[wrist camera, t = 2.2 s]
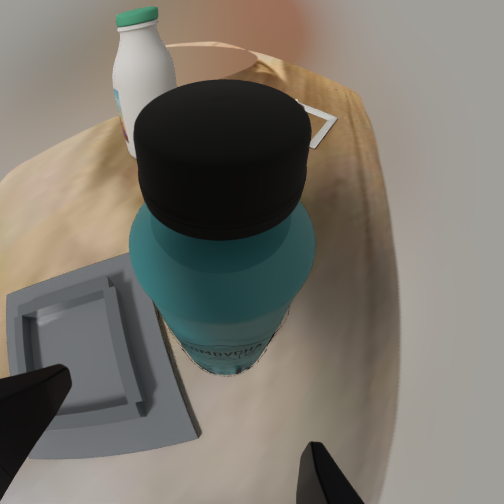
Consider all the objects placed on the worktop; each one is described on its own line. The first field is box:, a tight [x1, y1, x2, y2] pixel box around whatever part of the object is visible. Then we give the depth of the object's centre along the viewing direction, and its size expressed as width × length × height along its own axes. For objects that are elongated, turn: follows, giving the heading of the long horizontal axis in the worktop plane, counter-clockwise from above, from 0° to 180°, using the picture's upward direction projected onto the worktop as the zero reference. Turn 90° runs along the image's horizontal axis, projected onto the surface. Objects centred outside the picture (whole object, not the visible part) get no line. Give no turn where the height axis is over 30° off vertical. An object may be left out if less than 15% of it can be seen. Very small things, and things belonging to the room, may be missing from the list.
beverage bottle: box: [129, 79, 316, 377], centre depth 13 cm, size 6×7×20 cm
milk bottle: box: [112, 7, 177, 159], centre depth 26 cm, size 8×8×20 cm
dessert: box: [296, 99, 338, 148], centre depth 39 cm, size 12×12×5 cm
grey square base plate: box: [6, 253, 198, 459], centre depth 19 cm, size 18×18×2 cm
